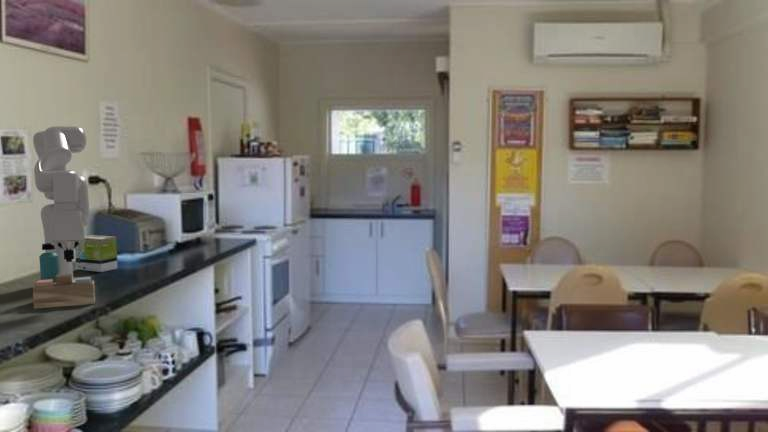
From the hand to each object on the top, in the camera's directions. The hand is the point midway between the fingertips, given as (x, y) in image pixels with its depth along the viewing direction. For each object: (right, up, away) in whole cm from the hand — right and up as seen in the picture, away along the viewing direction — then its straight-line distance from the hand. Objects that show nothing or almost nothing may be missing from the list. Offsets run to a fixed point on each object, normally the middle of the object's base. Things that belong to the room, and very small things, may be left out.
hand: (69, 261), depth 239 cm
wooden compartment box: (-2, -15, +1) cm, 15 cm away
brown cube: (-2, -10, +1) cm, 10 cm away
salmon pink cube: (-8, -11, -1) cm, 14 cm away
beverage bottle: (-11, -14, +10) cm, 20 cm away
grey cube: (+4, -11, +3) cm, 12 cm away
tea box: (-20, -8, +72) cm, 75 cm away
